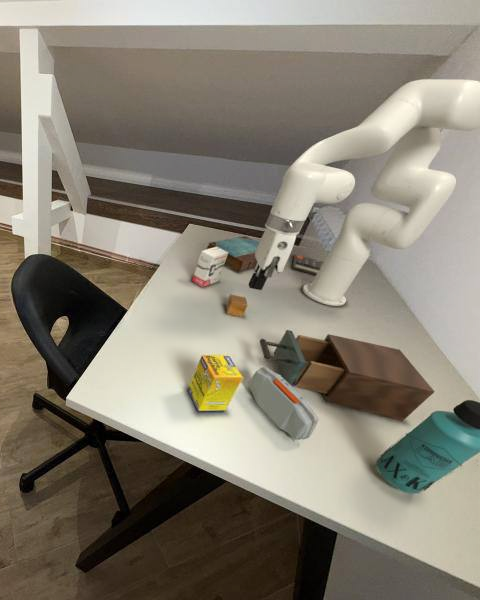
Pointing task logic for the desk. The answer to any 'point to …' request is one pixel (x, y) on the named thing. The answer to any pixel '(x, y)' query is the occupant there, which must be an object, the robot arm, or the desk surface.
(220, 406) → the supplement box
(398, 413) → the cabinet
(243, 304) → the block
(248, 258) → the book
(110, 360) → the desk surface
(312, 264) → the calculator
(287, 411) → the gray case
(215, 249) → the ink box
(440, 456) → the beverage bottle
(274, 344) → the drawer
